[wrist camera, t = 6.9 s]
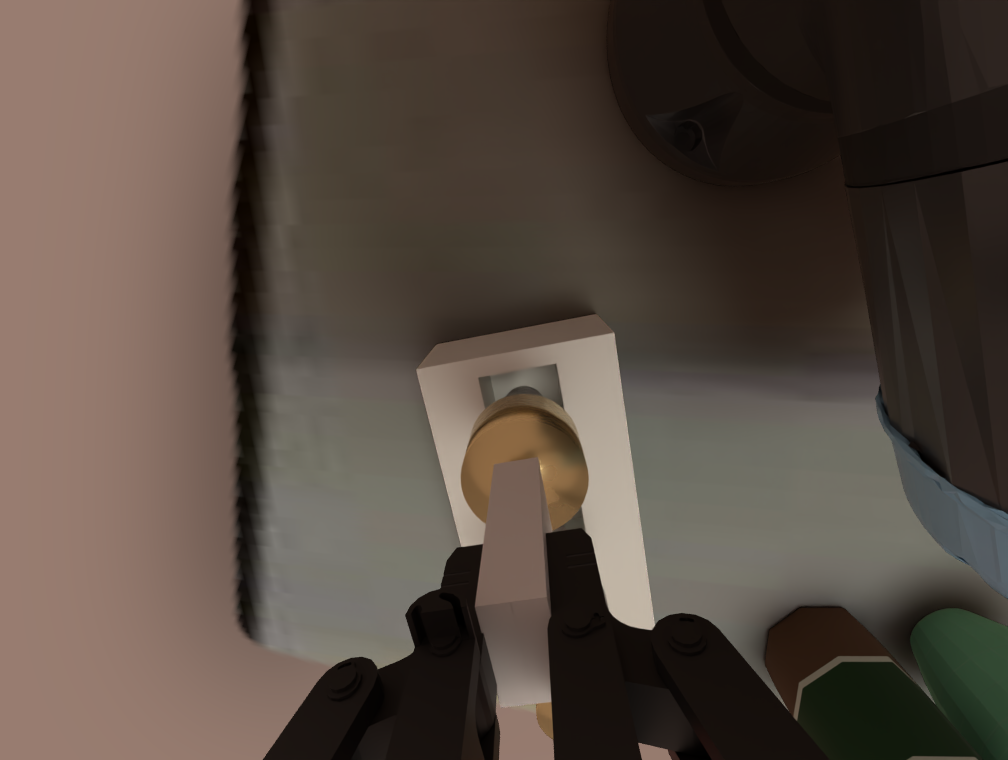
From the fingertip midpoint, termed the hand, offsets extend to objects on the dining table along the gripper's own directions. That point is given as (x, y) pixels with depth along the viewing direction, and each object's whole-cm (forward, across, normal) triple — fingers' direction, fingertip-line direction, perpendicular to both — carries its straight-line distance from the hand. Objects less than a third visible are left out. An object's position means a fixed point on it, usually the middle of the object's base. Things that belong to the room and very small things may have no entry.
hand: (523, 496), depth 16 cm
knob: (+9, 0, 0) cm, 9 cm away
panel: (+15, 0, -8) cm, 17 cm away
